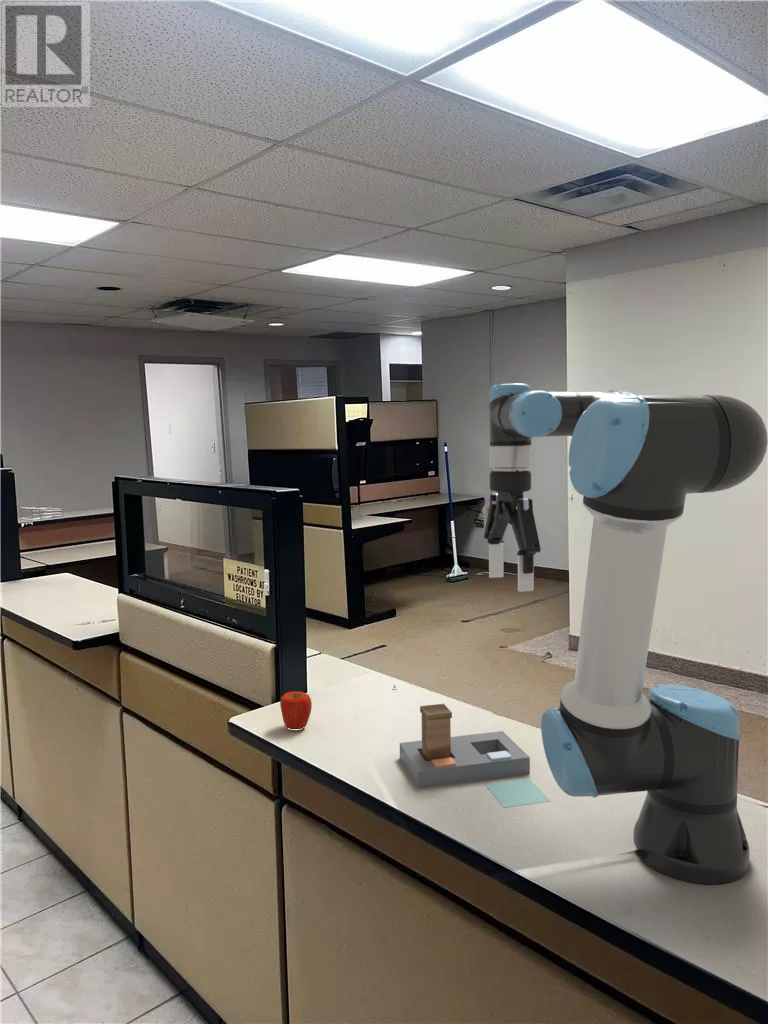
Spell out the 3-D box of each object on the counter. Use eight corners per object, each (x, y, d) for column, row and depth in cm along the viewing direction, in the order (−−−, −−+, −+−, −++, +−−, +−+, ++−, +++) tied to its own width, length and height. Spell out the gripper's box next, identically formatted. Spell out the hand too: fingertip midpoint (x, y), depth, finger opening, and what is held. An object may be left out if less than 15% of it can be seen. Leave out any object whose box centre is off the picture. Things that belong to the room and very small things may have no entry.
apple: (315, 723, 155) (315, 689, 154) (305, 735, 149) (304, 699, 148) (287, 721, 157) (286, 687, 156) (276, 732, 151) (275, 697, 150)
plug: (452, 779, 129) (451, 712, 128) (428, 782, 128) (427, 714, 127) (444, 768, 133) (443, 703, 132) (420, 771, 132) (420, 706, 131)
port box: (529, 779, 128) (529, 755, 128) (418, 794, 124) (418, 769, 123) (502, 751, 140) (502, 728, 140) (399, 764, 135) (399, 740, 135)
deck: (550, 807, 118) (550, 800, 118) (503, 814, 117) (503, 807, 116) (529, 785, 126) (529, 778, 126) (485, 791, 124) (485, 784, 124)
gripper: (560, 471, 125) (560, 595, 127) (502, 466, 149) (502, 571, 151) (519, 472, 123) (519, 598, 125) (467, 467, 147) (468, 573, 149)
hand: (510, 584), depth 138 cm, fingers open, 13 cm apart
